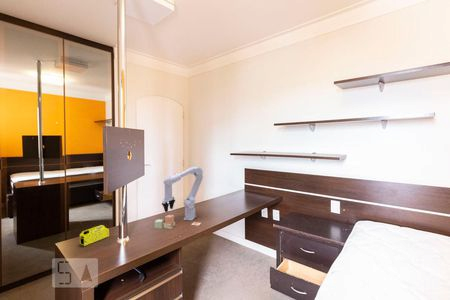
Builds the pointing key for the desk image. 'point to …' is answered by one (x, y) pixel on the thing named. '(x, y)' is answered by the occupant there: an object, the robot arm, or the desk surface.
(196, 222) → the tile
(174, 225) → the maple base
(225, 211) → the desk surface
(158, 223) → the sage cube
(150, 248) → the desk surface
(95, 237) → the yellow toy chassis
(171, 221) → the terracotta cube
